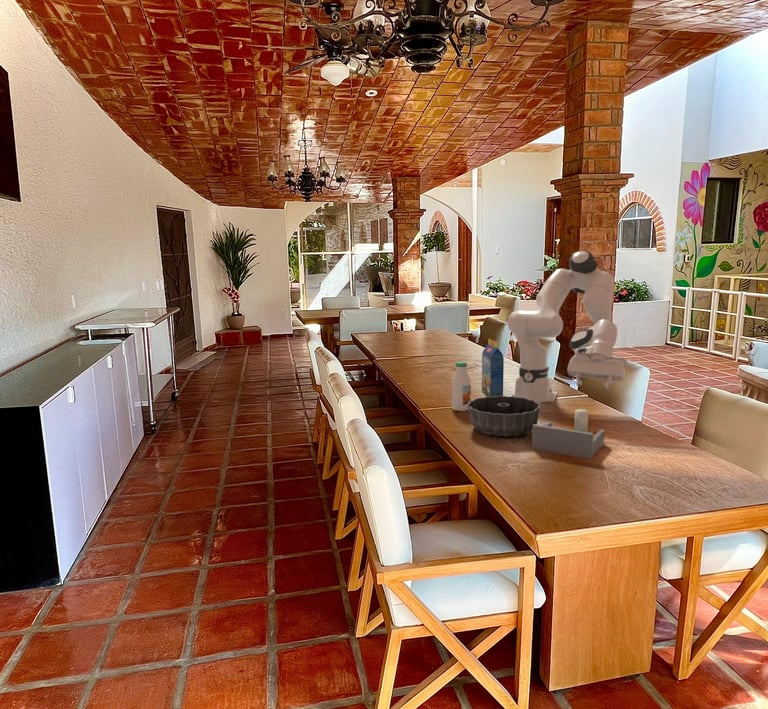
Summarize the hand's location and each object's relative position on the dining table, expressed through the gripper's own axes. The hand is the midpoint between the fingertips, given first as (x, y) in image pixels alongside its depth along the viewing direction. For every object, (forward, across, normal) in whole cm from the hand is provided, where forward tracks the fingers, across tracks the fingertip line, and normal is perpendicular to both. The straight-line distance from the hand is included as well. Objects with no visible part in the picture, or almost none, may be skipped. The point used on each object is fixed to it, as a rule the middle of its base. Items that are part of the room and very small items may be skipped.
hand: (591, 386), depth 208 cm
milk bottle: (+14, +51, -8) cm, 53 cm away
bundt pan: (+26, +26, +5) cm, 37 cm away
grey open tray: (+29, 0, +9) cm, 31 cm away
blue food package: (-8, +50, -29) cm, 58 cm away
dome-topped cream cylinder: (+19, 0, -2) cm, 19 cm away
